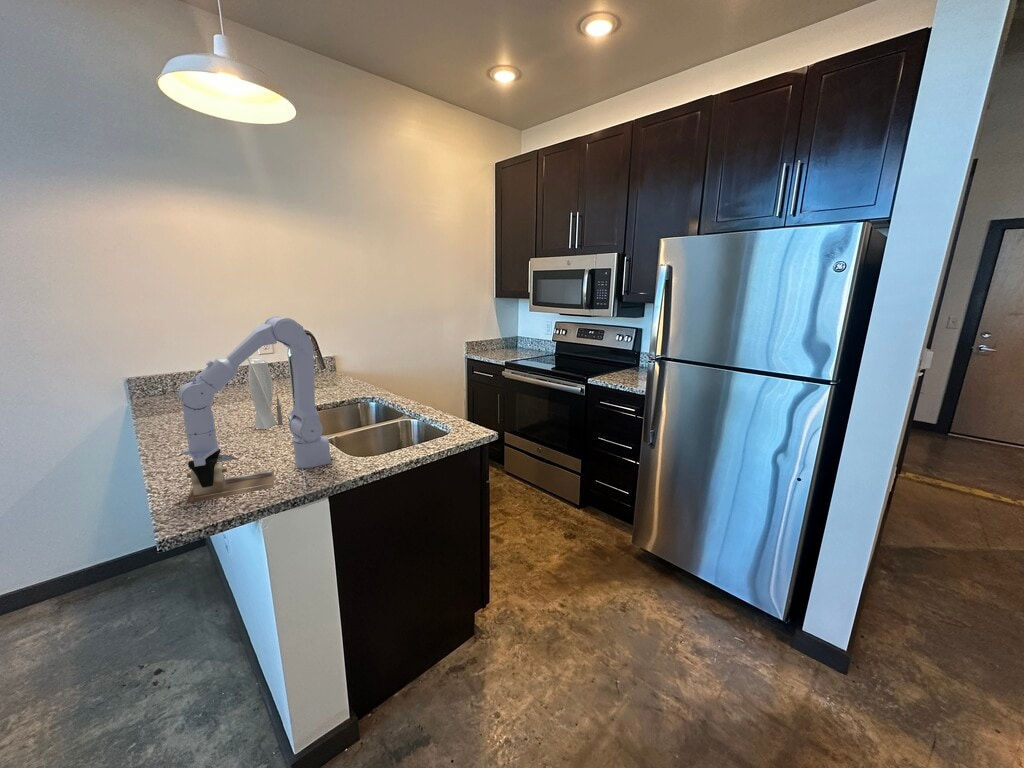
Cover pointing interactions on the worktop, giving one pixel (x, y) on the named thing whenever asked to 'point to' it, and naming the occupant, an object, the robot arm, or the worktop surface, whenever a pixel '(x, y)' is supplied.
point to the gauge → (217, 483)
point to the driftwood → (225, 458)
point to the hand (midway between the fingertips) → (209, 482)
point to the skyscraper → (262, 394)
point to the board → (238, 486)
